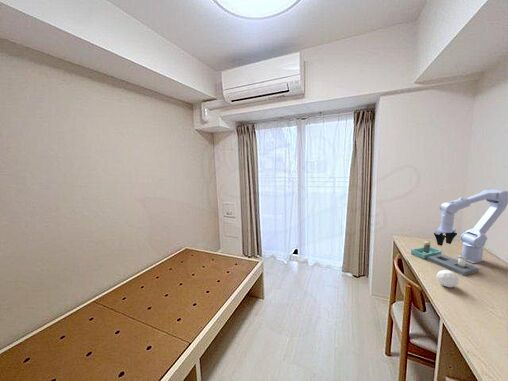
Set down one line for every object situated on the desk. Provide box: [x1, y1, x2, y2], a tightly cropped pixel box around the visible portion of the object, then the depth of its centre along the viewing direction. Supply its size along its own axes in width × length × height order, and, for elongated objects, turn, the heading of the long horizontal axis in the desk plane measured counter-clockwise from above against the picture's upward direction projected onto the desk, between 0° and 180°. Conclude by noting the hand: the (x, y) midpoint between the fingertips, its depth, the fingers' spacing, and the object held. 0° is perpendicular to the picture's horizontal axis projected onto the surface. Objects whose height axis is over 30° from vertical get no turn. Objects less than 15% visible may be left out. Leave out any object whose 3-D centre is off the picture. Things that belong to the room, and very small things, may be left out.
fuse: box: [457, 254, 467, 269], centre depth 117 cm, size 3×3×8 cm
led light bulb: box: [423, 240, 431, 254], centre depth 135 cm, size 3×3×8 cm
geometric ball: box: [436, 269, 459, 288], centre depth 103 cm, size 8×8×8 cm
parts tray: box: [410, 246, 443, 260], centre depth 135 cm, size 15×8×3 cm, turn 107°
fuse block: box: [426, 253, 479, 276], centre depth 122 cm, size 12×18×2 cm, turn 17°
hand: (444, 244), depth 128 cm, fingers open, 7 cm apart
